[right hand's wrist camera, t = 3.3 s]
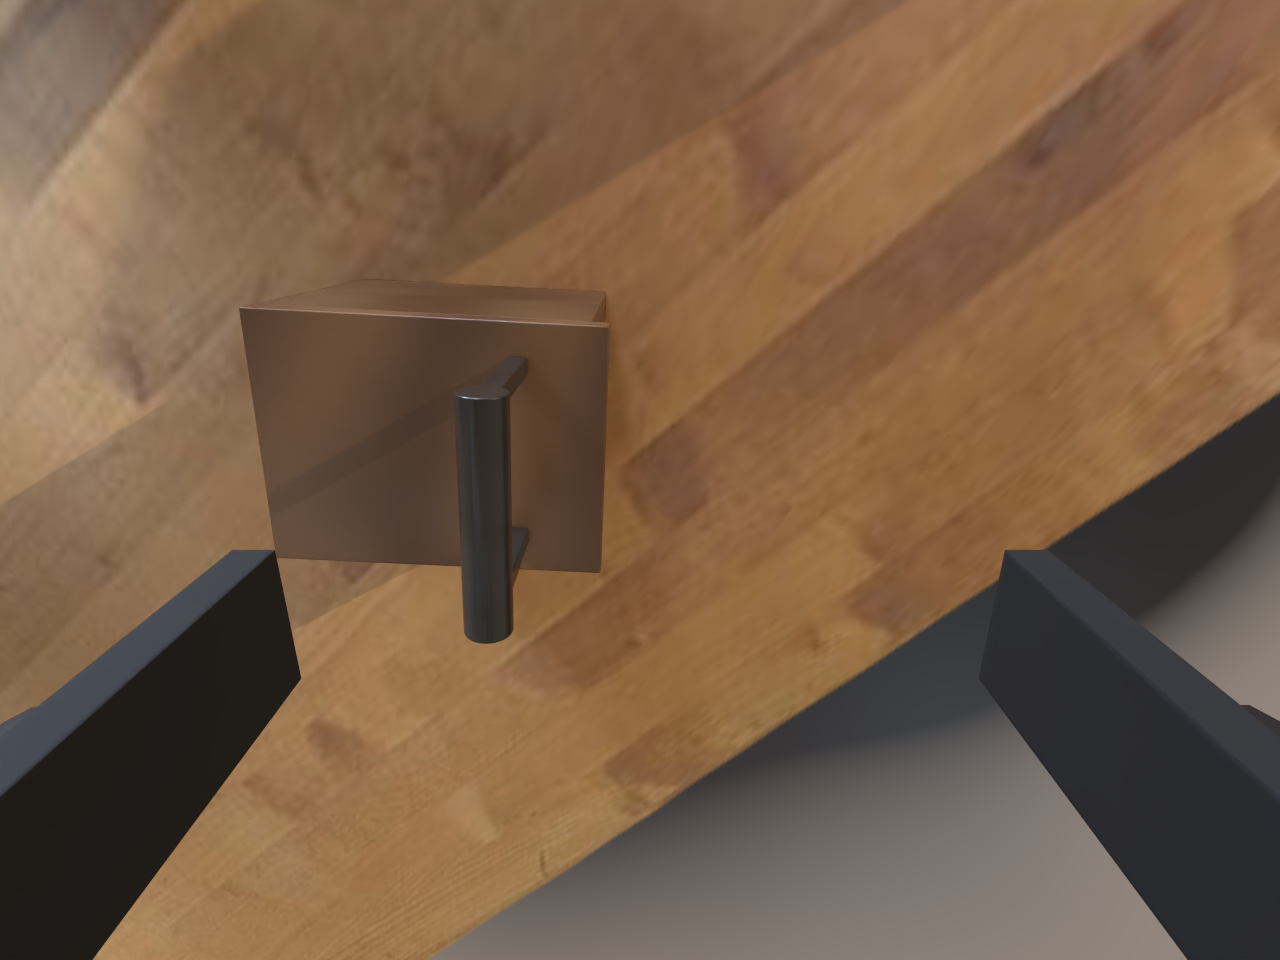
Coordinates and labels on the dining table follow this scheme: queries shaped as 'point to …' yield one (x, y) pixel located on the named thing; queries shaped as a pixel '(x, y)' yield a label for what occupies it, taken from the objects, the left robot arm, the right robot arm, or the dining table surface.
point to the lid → (433, 443)
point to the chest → (455, 300)
